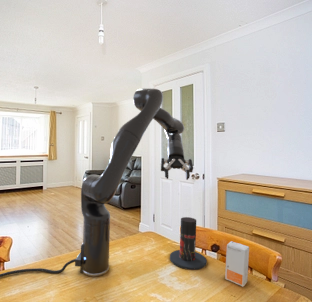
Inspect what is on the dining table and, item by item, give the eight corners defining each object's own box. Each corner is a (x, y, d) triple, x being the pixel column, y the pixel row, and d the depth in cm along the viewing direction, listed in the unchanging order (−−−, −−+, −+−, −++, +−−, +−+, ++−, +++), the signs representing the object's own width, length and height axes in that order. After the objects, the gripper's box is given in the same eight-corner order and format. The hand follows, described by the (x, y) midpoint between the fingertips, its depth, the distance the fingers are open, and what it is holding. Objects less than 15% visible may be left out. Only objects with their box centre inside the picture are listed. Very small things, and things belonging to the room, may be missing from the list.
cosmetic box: (224, 279, 75) (226, 244, 75) (229, 274, 78) (230, 240, 78) (243, 287, 71) (245, 250, 71) (248, 282, 74) (249, 246, 74)
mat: (171, 268, 81) (171, 266, 81) (168, 250, 95) (168, 248, 95) (210, 271, 80) (211, 268, 80) (201, 252, 94) (202, 250, 94)
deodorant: (195, 262, 84) (196, 222, 84) (179, 260, 86) (180, 221, 85) (194, 254, 90) (195, 218, 90) (179, 253, 91) (180, 216, 91)
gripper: (161, 145, 106) (161, 172, 95) (191, 146, 105) (195, 173, 94) (160, 156, 111) (160, 182, 100) (189, 157, 110) (192, 184, 99)
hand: (177, 178), depth 97 cm, fingers open, 8 cm apart
